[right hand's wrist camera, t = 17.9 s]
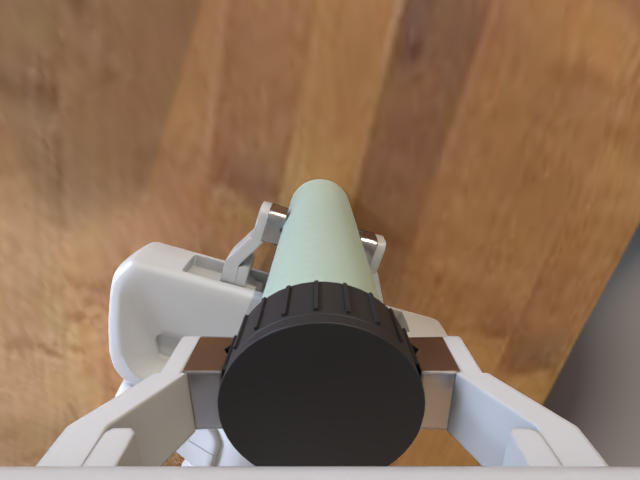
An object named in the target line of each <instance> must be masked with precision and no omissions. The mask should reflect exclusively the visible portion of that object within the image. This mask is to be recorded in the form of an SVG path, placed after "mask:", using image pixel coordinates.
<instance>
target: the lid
mask: <svg viewBox="0 0 640 480" xmlns="http://www.w3.org/2000/svg"><path fill="white" fill-rule="evenodd" d="M227 356H228V357H226V360H225V361H226V362H225V363H224V365H223V368H222V369H223V373H224V375H223V378H222V381H221V384H220V387H219V392H218V413H219V419H220V422H221V425H222V428H223V430H224V432H225V434H226V436H227V438H228V440H229V441H230V443H231V444H232V445H233V447H234V448H235V449H236V450H237V451H238V452H239V453H240V454H241V455H242V456H243V457H244V458H245V459H246V460H248V461H249V462H250V463H251V464H253V465H254V466H388V465H390V464H391V463H392V462H394V461H395V460H396V459H398V458H399V457H400V456H401V455H402V454H403V453H404V452H405V451H406V450H407V448H408V447H409V446H410V445H411V444H412V442H413V441H414V439H415V437H416V436H417V434H418V432H419V429H420V427H421V425H422V421H423V417H424V412H425V392H424V388H423V384H422V380H421V378H420V375H419V373H418V370H417V367H416V365H417V364H419V363H418V360H417V358H416V355H415V352H414V350H413V347H412V345H411V342H410V340H409V337H408V334H407V332H406V329H405V328H401V325H400V323H399V322H398V320H397V319H396V317H395V314H394V311H393V309H392V308H390V309H389V308H388V307H386V306H385V305H384V304H383V303H382V302H381V301H380V300H378V299H377V298H375V297H374V296H373V294H372V293H371V292H369V293H367V292H365V291H363V290H361V289H358V288H355V287H352V286H350V285H347V283H344V282H343V284H341V283H335V282H318V280H314V282H308V283H301V284H297V285H293V286H290V285H288V286H286V288H285V289H282V290H280V291H277V292H276V293H274V294H272V295H270V296H268V297H267V298H266V297H264V298H262V300H261V302H260V303H259V304H258V305H257V306H256V307H255V308H254V309H253V310H252V311H251V312H250V314H249V315H247V314H246V315H245V316H244V318H243V321H242V324H241V326H240V329H239V332H238V335H237V336H236V335H234V338H233V341H232V344H231V346H230V349H229V352H228V354H227Z"/></svg>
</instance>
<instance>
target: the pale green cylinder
mask: <svg viewBox="0 0 640 480" xmlns="http://www.w3.org/2000/svg"><path fill="white" fill-rule="evenodd" d="M314 280H318V282H335V283H341V284H343V282H344V283H347V285H350V286H352V287H355V288H358V289H361V290H363V291H365V292H367V293H369V292H371V293H372V294H373V296H374V297H375V298H377V299H378V300H380V298H379V295H378V292H377V289H376V286H375V282H374V279H373V276H372V273H371V270H370V266H369V263H368V260H367V257H366V254H365V250H364V247H363V244H362V241H361V238H360V235H359V231H358V228H357V225H356V222H355V219H354V215H353V212H352V209H351V206H350V203H349V200H348V197H347V195H346V193H345V192H344V190H343V189H342V188H341V187H340V186H339V185H337V184H336V183H334V182H332V181H329V180H324V179H315V180H311V181H308V182H306V183H304V184H303V185H301V186H300V187H299V188H298V189H297V190H296V191H295V193H294V194H293V197H292V199H291V202H290V206H289V211H288V214H287V218H286V221H285V224H284V226H283V229H282V233H281V236H280V239H279V243H278V246H277V249H276V253H275V256H274V260H273V263H272V266H271V270H270V273H269V276H268V280H267V283H266V286H265V290H264V293H263V297H262V298H264V297H266V298H267V297H268V296H270V295H272V294H274V293H276V292H277V291H280V290H282V289H285V288H286V286H288V285H290V286H293V285H297V284H301V283H308V282H314Z"/></svg>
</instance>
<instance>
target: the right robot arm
mask: <svg viewBox="0 0 640 480" xmlns="http://www.w3.org/2000/svg"><path fill="white" fill-rule="evenodd" d="M233 338H234V337H220V336H185V337H183V338H182V339H181V340H180V342H179V343H178V345H177V347H176V348H175V350H174V352H173V353H172V355H171V357H170V358H169V360H168V362H167V363H166V365H165V367H164V368H163V370H162V372H161V373H155V374H153V375H151V376H150V377H148V378H146V379H145V380H143V381H141V382H140V383H138V384H136V385H135V386H133V387H131V388H130V389H128V390H126V391H125V392H123V393H121V394H120V395H118V396H116V397H115V398H113V399H112V400H110V401H108V402H107V403H105V404H103V405H102V406H100V407H98V408H97V409H95V410H93V411H92V412H90V413H88V414H87V415H85V416H83V417H82V418H80V419H78V420H77V421H75V422H73V423H72V424H70V425H68V426H67V427H66V428H65V430H64V431H63V432H62V433H61V435H60V436H59V437H58V438H57V440H56V441H55V442H54V443H53V445H52V446H51V447H50V448H49V450H48V451H47V452H46V454H45V455H44V456H43V457H42V459H41V460H40V461H39V462H38V464H37V465H36V466H0V480H640V466H609V465H608V464H607V463H606V462H605V461H604V459H603V458H602V457H601V456H600V454H599V453H598V452H597V451H596V449H595V448H594V447H593V446H592V444H591V443H590V442H589V441H588V439H587V438H586V437H585V436H584V434H583V433H582V432H581V431H580V429H579V428H578V427H577V426H575V425H574V424H572V423H570V422H569V421H567V420H565V419H563V418H562V417H560V416H559V415H557V414H555V413H553V412H552V411H550V410H549V409H547V408H545V407H544V406H542V405H540V404H539V403H537V402H535V401H534V400H532V399H530V398H529V397H527V396H525V395H524V394H522V393H520V392H519V391H517V390H515V389H514V388H512V387H510V386H509V385H507V384H505V383H504V382H502V381H500V380H499V379H497V378H495V377H494V376H492V375H490V374H489V373H482V371H481V370H480V368H479V366H478V365H477V363H476V362H475V360H474V358H473V357H472V355H471V354H470V352H469V350H468V349H467V347H466V346H465V344H464V342H463V341H462V339H461V338H460V337H459V336H440V337H409V340H410V342H411V345H412V347H413V350H414V352H415V355H416V358H417V360H418V363H419V364H417V365H416V367H417V370H418V373H419V375H420V378H421V380H422V384H423V388H424V392H425V412H424V417H423V421H422V425H421V427H420V429H447V431H448V432H449V433H450V434H451V435H452V436H453V437H454V438H455V439H456V440H457V441H458V442H459V443H460V444H461V445H462V446H463V447H464V448H465V449H466V450H467V451H468V452H469V453H470V454H471V455H472V456H473V457H474V458H475V459H476V460H477V461H478V462H479V463H480V464H481V465H482V466H162V465H163V464H164V463H165V462H166V461H167V460H168V459H169V458H170V457H171V456H172V455H173V454H174V453H175V452H176V451H177V450H178V449H179V448H180V447H181V446H182V445H183V444H184V443H185V442H186V441H187V440H188V439H189V438H190V437H191V436H192V435H193V433H194V432H195V430H196V429H223V428H222V425H221V422H220V419H219V413H218V392H219V387H220V384H221V381H222V378H223V375H224V373H223V369H222V368H223V365H224V363H225V362H226V361H225V360H226V357H228V356H227V354H228V352H229V349H230V346H231V344H232V341H233Z"/></svg>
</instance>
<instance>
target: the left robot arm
mask: <svg viewBox="0 0 640 480" xmlns="http://www.w3.org/2000/svg"><path fill="white" fill-rule="evenodd" d="M288 211H289V208H286V207H283V206H279V205H276V204H273V203H271V202H266V201H264V202H263V204H262V205H261V208H260V211H259V214H258V218H257V221H256V225H255V228H254V229H253V230H252V231H251V232H250V233H249V234H248V235H247V236H245V237H244V238H243V239H242V240H241V241H240V242H239V243H238V244H237V245H236V246H235V247H234V248H233V249H232V251H231V252H230V254H229V256H228V257H227V259H226V261H225V260H221V259H217V258H214V257H210V256H207V255H203V254H199V253H196V252H192V251H188V250H185V249H181V248H178V247H174V246H170V245H167V244H164V243H160V242H152V243H150V244H148V245H146V246H144V247H143V248H141V249H139V250H138V251H136V252H135V253H134V254H132V255H131V256H130V257H128V258H127V259H126V260H125V261H124V262H123V263H122V264H121V265H120V266H119V267H118V269H117V270H116V272H115V274H114V276H113V280H112V286H111V293H110V304H109V350H110V356H111V360H112V363H113V365H114V367H115V369H116V371H117V372H118V373H119V375H120V376H121V377H122V378H123V379H124V380H123V382H122V384H121V386H120V388H119V390H118V392H117V394H116V396H118V395H120V394H121V393H123V392H125V391H126V390H128V389H130V388H131V387H133V386H135V385H136V384H138V383H140V382H141V381H143V380H145V379H146V378H148V377H150V376H151V375H153V374H155V373H161V372H162V370H163V368H164V367H165V365H166V363H167V362H168V360H169V358H170V357H171V355H172V353H173V352H174V350H175V348H176V347H177V345H178V343H179V342H180V340H181V339H182V338H183V337H185V336H220V337H234V335H236V336H237V335H238V332H239V329H240V326H241V324H242V321H243V318H244V316H245V315H246V314H247V315H249V314H250V312H251V311H252V310H253V309H254V308H255V307H256V306H257V305H258V304H259V303H260V302H261V300H262V297H263V293H264V290H265V286H266V283H267V280H268V276H269V273H268V272H264V271H261V270H257V269H253V268H252V266H253V262H254V258H255V255H254V254H252V252H254V251H255V250H256V249H257V248H258V247H259V246H260V245H261V244H262V243H263V242H268V243H272V244H276V245H278V243H279V239H280V236H281V233H282V229H283V226H284V224H285V221H286V218H287V214H288ZM358 231H359V235H360V238H361V241H362V244H363V247H364V250H365V254H366V257H367V260H368V263H369V266H370V270H371V273H372V276H373V279H374V282H375V286H376V289H377V292H378V295H379V298H380V301H381V302H382V303H383V298H382V293H381V288H380V282H379V277H378V273H377V269H378V267H379V264H380V262H381V259H382V257H383V254H384V252H385V248H386V241H385V239H384V237H383V236H381V235H378V234H375V233H371V232H367V231H364V230H360V229H359V230H358ZM385 306H386V307H388V308H389V309H390V308H392V309H393V311H394V314H395V317H396V319H397V320H398V322H399V323H400V325H401V328H405V329H406V332H407V334H408V337H440V336H448V335H447V334H446V332H445V330H444V329H443V327H442V326H441V324H440V323H439V322H438V321H437V320H436V319H433V318H430V317H427V316H423V315H420V314H416V313H412V312H409V311H405V310H401V309H398V308H394V307H391V306H387V305H385ZM116 396H115V397H116ZM176 453H178V454H179V455H180V456H182V457H183V458H184V459H185V460H184V462H183V463H182V465H181V466H254V465H253V464H251V463H250V462H249V461H248V460H246V459H245V458H244V457H243V456H242V455H241V454H240V453H239V452H238V451H237V450H236V449H235V448H234V447H233V445H232V444H231V443H230V441H229V440H228V438H227V436H226V434H225V432H224V430H223V429H196V430H195V432H194V433H193V435H192V436H191V437H190V438H189V439H188V440H187V441H186V442H185V443H184V444H183V445H182V446H181V447H180V448H179V449H178V450H177V451H176Z"/></svg>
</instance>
